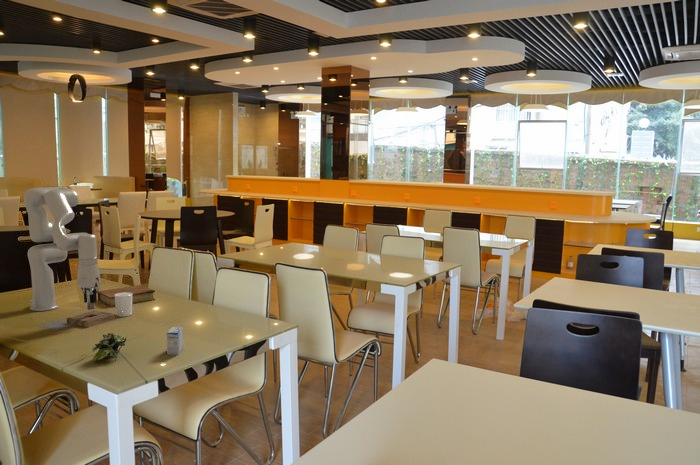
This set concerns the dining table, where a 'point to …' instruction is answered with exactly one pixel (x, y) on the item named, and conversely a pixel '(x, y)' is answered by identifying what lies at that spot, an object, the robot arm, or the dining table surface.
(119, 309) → the white cup
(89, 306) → the peg
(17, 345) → the dining table surface
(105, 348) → the green leafy plant
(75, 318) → the hole block
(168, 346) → the medicine box
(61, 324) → the mat
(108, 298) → the diary
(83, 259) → the robot arm
